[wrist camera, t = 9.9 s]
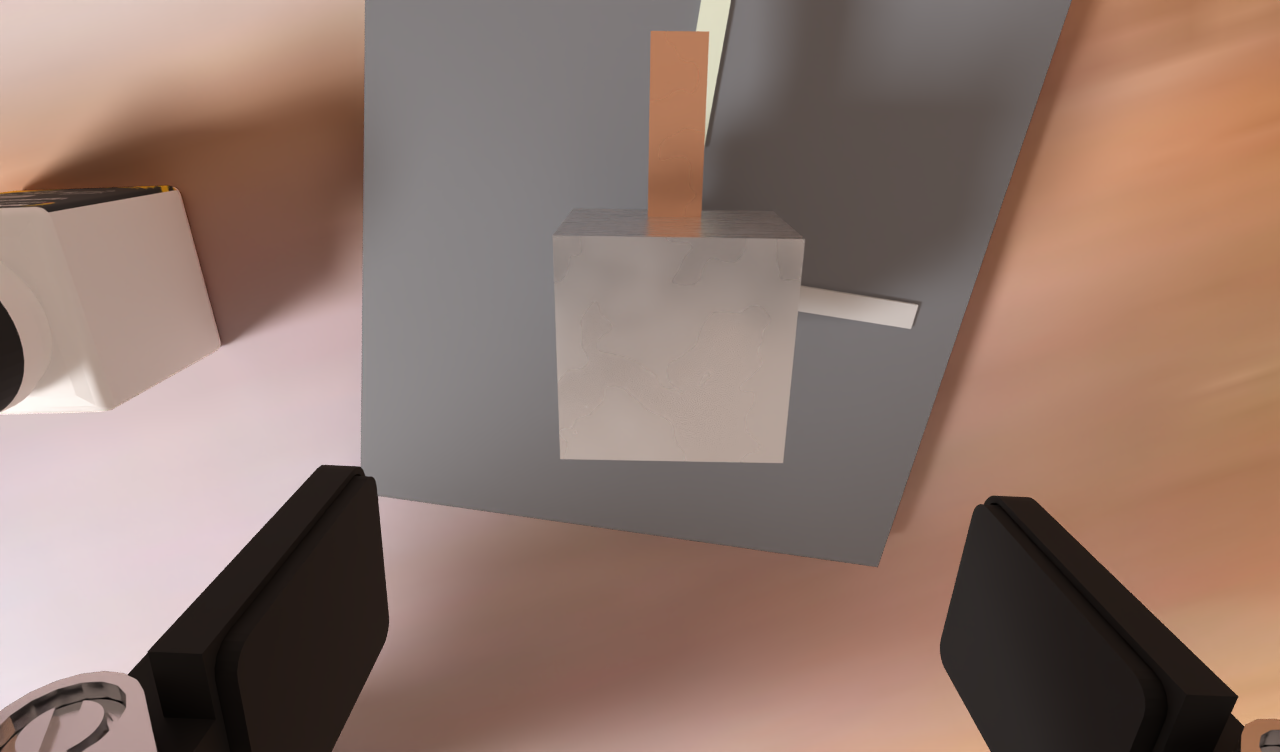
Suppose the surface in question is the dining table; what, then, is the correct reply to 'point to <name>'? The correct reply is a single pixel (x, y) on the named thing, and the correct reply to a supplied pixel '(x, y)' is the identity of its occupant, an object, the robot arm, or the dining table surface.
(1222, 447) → the dining table surface
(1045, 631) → the robot arm
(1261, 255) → the dining table surface
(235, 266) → the dining table surface
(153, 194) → the medicine bottle
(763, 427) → the mallet
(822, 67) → the base board
